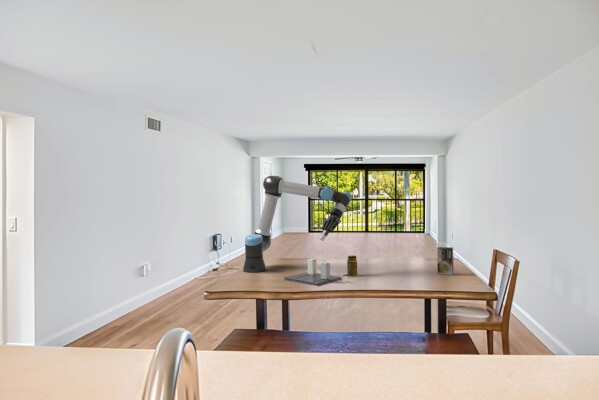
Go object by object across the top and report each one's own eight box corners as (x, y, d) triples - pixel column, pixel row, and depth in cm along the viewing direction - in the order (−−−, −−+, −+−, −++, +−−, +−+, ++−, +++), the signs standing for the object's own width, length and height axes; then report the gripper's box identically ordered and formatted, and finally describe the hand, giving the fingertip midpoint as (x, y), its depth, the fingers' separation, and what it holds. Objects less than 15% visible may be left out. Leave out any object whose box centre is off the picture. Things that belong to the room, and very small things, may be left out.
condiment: (360, 275, 263) (359, 256, 263) (349, 277, 259) (349, 257, 258) (352, 273, 270) (352, 254, 269) (342, 275, 265) (341, 256, 265)
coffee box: (453, 273, 265) (453, 247, 264) (452, 275, 259) (452, 248, 258) (438, 272, 268) (438, 246, 268) (437, 274, 263) (436, 248, 262)
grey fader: (320, 278, 248) (320, 263, 248) (324, 277, 251) (324, 262, 251) (326, 279, 246) (325, 263, 245) (330, 278, 248) (329, 262, 248)
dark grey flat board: (284, 279, 255) (284, 277, 255) (309, 274, 271) (309, 271, 271) (316, 285, 237) (316, 283, 237) (341, 279, 253) (341, 276, 253)
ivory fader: (307, 273, 262) (307, 259, 262) (311, 273, 265) (311, 258, 265) (312, 274, 260) (312, 259, 259) (316, 273, 262) (316, 259, 262)
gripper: (348, 215, 277) (332, 243, 266) (332, 215, 286) (316, 242, 275) (343, 207, 273) (326, 236, 262) (327, 207, 283) (310, 234, 271)
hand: (321, 239), depth 268 cm, fingers closed
